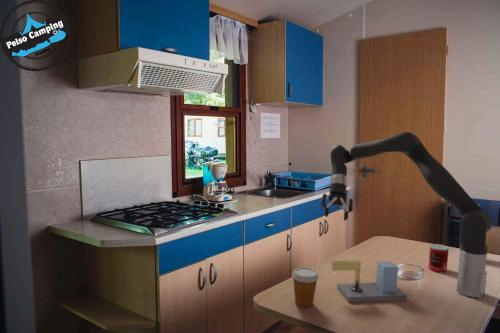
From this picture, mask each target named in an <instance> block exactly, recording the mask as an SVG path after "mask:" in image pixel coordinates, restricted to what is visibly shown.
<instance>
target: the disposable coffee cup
mask: <svg viewBox="0 0 500 333" xmlns="http://www.w3.org/2000/svg"><path fill="white" fill-rule="evenodd" d="M291 275H292V278H293V280H292V281H293V289H294V290H293V291H294V300H295V301H294V302H295V305H296V306H298V307H301V308H311V307H312V306H313V305H314V301H315V294H316V290H317V289H316V288H317V282H318V279H319V277H320V276H319V275H318V271H317V270H315V269H313V268H310V267H297V268H294V270H293V272H292V274H291Z"/></svg>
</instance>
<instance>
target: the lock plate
mask: <svg viewBox="0 0 500 333" xmlns="http://www.w3.org/2000/svg"><path fill="white" fill-rule="evenodd" d="M354 283H355V282H353V283H337V285H336V289H337V291H339V293H340V294H341V295H342V296H343V298H344V299H345V300H346V302H348V303H367V302H368V303H369V302H371V303H372V302H393V301H394V302H397V301H399V302H400V301H402V302H404V301H407V300H408V295H407V294H406V293H405V292H404V291H403V290H401V289H400V288H399V287H398V286H397V287H396V292H381V291H380V290H379V289H378V288H377V287H376V282H364V283H363V282H361V283H360V282H359V289H355V288H354Z"/></svg>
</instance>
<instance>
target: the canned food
mask: <svg viewBox="0 0 500 333" xmlns="http://www.w3.org/2000/svg"><path fill="white" fill-rule="evenodd" d="M428 256H429V258H428V269H429V270H430V271H431V272H435V273H439V272H444V273H447V269H448V261H449V247H448V246H446V245H444V244H438V243H433V244H430V246H429V255H428Z"/></svg>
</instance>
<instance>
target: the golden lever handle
mask: <svg viewBox="0 0 500 333" xmlns="http://www.w3.org/2000/svg"><path fill="white" fill-rule="evenodd" d="M361 266H362V263H361V261H360V260H358V259H357V260H355V259H354V260H351V259H350V260H347V259H346V260H330V268H329V269H330V270H331V271H332V272H333V271H338V272H339V271H341V272H342V271H355V272H354V282H353V283H354V288H355V289H359V283H360V279H361V276H360V275H361Z"/></svg>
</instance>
